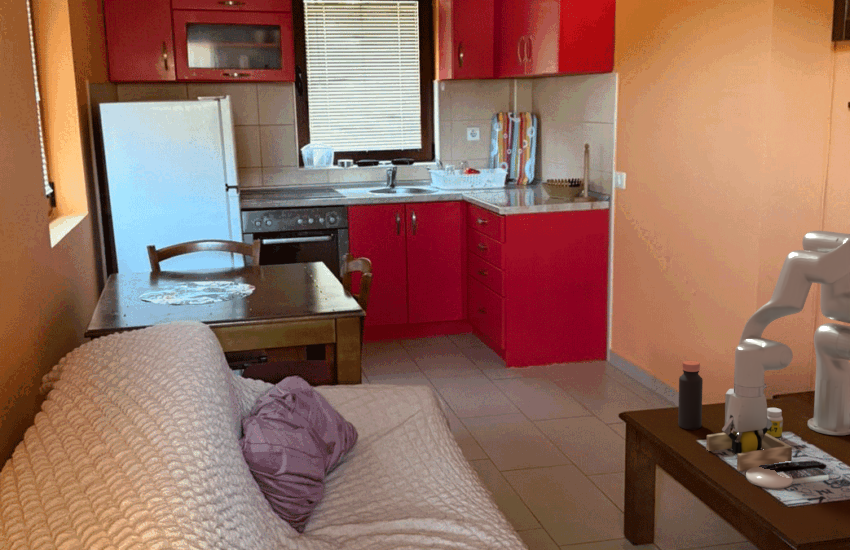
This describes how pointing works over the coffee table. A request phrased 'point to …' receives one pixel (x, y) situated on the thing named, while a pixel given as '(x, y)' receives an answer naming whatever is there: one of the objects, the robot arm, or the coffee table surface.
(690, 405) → the vinegar
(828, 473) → the coffee table surface
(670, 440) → the coffee table surface
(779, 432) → the supplement bottle
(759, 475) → the saucer
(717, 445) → the pine box
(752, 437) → the lemon
